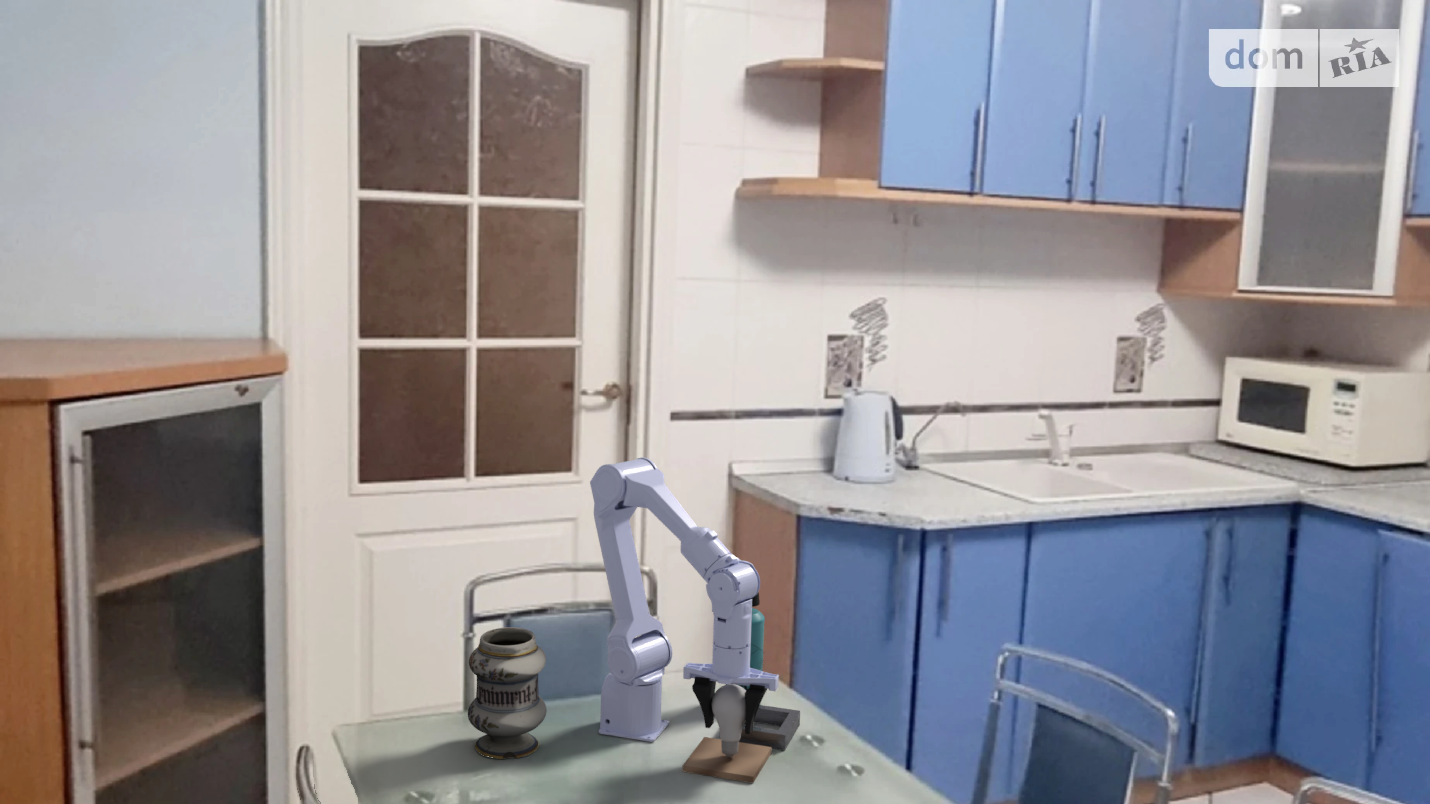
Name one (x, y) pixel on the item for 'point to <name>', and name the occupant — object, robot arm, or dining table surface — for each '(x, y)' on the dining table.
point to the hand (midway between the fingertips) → (729, 728)
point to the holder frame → (771, 737)
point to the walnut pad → (727, 760)
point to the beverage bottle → (756, 638)
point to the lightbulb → (729, 716)
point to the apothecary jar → (507, 692)
